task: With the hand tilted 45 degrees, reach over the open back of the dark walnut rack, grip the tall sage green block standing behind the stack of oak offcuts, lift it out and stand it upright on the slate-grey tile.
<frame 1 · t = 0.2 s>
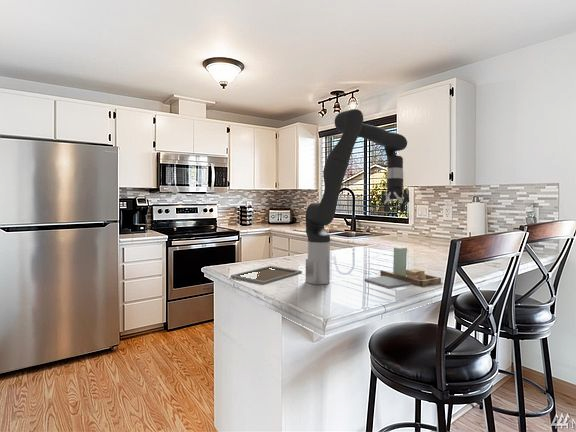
hand: (394, 212, 169), 29 cm above the worktop, tool pointing down, fingers open, 8 cm apart
slate tile: (386, 282, 149), on the worktop
dark grey tray: (269, 276, 162), on the worktop
sage green block: (399, 276, 161), on the worktop
oak offcut stack: (415, 280, 153), resting in walnut rack
walnut rack: (409, 278, 156), on the worktop
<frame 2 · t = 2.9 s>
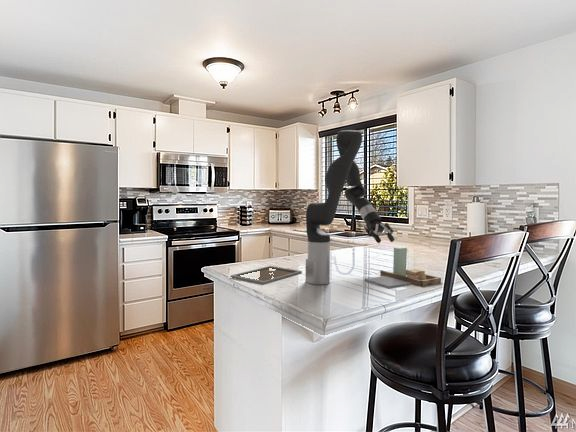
hand: (386, 241, 167), 15 cm above the worktop, tool tilted 45°, fingers open, 8 cm apart
nothing on the worktop moved.
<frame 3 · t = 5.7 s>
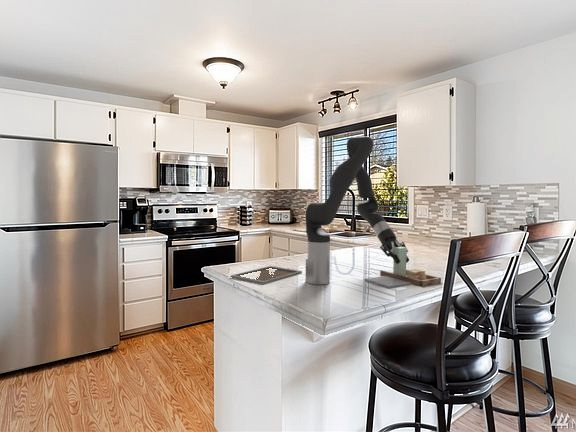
hand: (403, 262, 159), 7 cm above the worktop, tool tilted 45°, fingers closed on sage green block, 5 cm apart
sage green block: (399, 276, 161), on the worktop, touching gripper
everything else where it was.
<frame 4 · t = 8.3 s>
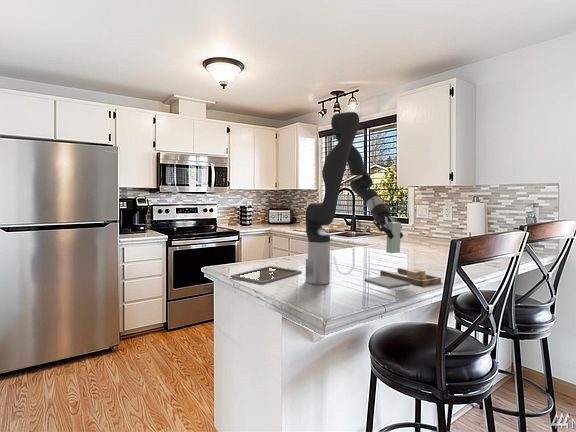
hand: (396, 237, 152), 19 cm above the worktop, tool tilted 45°, fingers closed on sage green block, 5 cm apart
sage green block: (393, 252, 153), point 12 cm above the worktop, touching gripper
everything else where it was.
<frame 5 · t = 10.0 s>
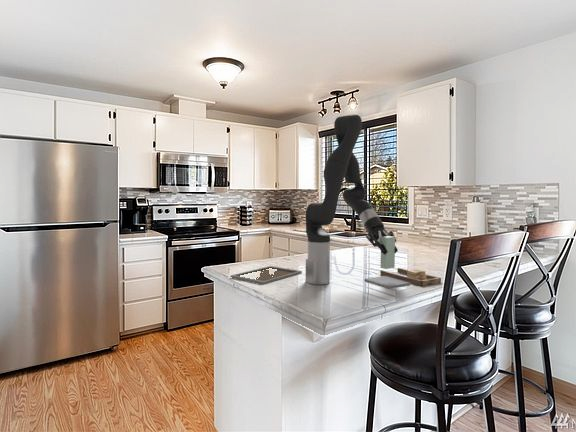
hand: (391, 252, 146), 13 cm above the worktop, tool tilted 45°, fingers closed on sage green block, 5 cm apart
sage green block: (387, 267, 148), point 6 cm above the worktop, touching gripper
everything else where it was.
when the fingers open (9 cm above the worktop, at t = 11.2 s): sage green block drops 1 cm, resting on slate tile.
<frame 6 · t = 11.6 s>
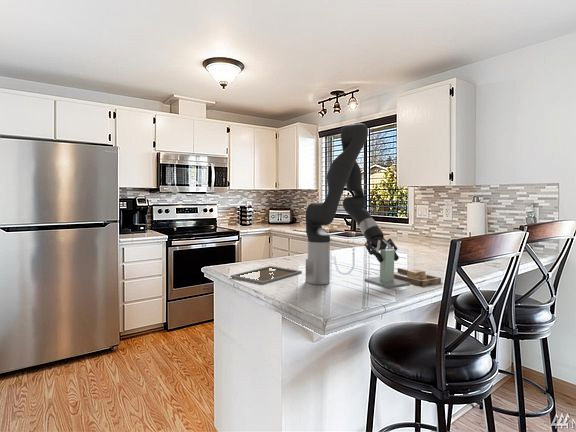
hand: (389, 260, 147), 9 cm above the worktop, tool tilted 45°, fingers open, 8 cm apart
sage green block: (386, 280, 149), point 1 cm above the worktop, touching slate tile
everything else where it was.
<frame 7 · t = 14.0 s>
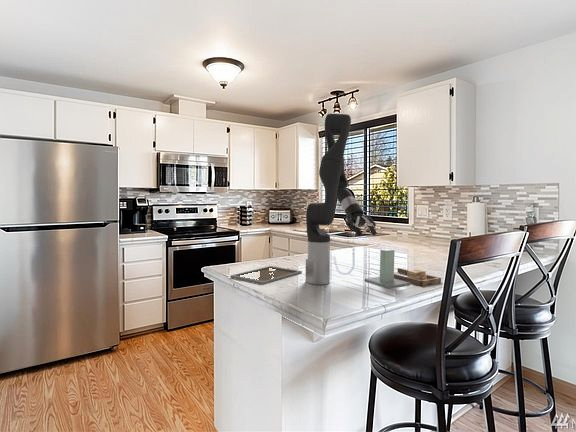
hand: (368, 234, 158), 19 cm above the worktop, tool tilted 45°, fingers open, 8 cm apart
nothing on the worktop moved.
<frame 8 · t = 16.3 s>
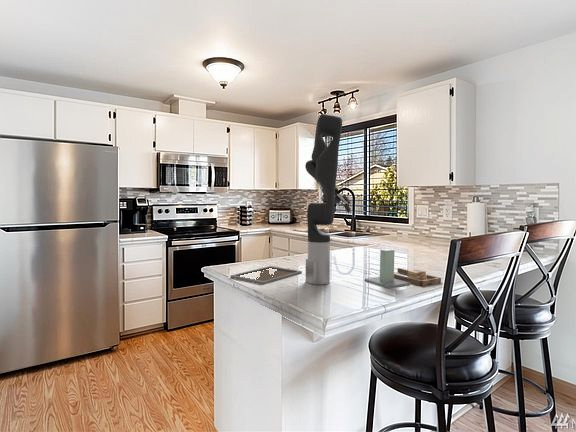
hand: (342, 211, 169), 29 cm above the worktop, tool tilted 45°, fingers open, 8 cm apart
at the end: sage green block inside the target area on the slate tile (0.1 cm from its centre), point 0.8 cm above the slate tile's base; sage green block tilted 0°; the gripper is holding nothing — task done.
